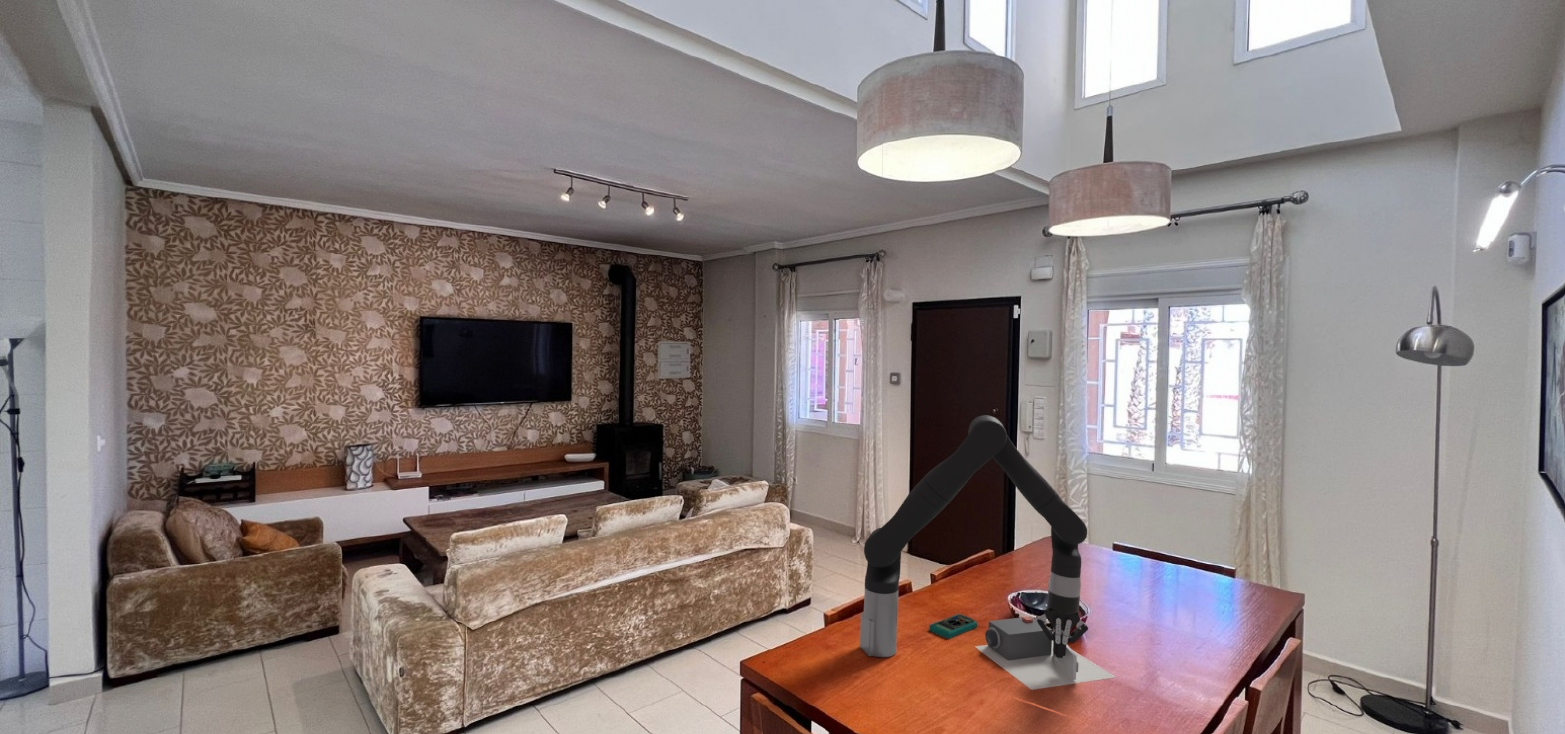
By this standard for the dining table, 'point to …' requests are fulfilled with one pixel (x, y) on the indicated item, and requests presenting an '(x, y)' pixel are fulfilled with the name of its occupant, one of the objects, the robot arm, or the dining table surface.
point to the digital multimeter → (953, 626)
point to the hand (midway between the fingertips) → (1059, 656)
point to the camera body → (1018, 638)
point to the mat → (1046, 669)
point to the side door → (1069, 662)
